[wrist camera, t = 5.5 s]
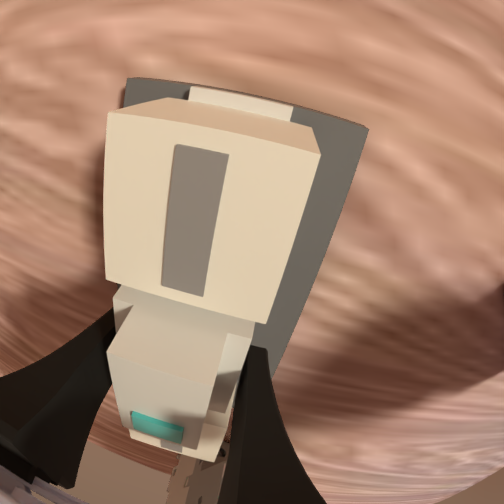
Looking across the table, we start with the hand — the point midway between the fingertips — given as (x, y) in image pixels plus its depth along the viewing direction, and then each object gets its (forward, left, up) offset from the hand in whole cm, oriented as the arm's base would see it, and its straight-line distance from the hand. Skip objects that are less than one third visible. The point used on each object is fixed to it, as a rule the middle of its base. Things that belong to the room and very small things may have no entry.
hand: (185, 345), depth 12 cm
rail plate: (0, 0, -4) cm, 4 cm away
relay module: (0, 0, -3) cm, 3 cm away
